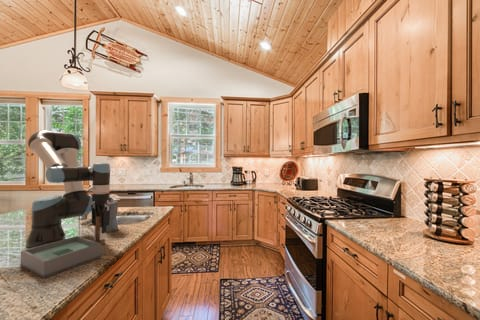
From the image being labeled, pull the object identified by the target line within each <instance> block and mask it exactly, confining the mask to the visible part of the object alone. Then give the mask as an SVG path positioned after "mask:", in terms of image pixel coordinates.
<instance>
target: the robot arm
mask: <svg viewBox="0 0 480 320" xmlns="http://www.w3.org/2000/svg"><path fill="white" fill-rule="evenodd" d="M27 145H28V148H29V149H30V151H32V152H33V153H35V154H36V155H37V157H38V158H39V159H40V161H41V162H42V164H43V165H44V166H45V167H46V171H45V178H46V181H47V182H48V183H50V184H51V183H52V184H53V183H55V184H61V183H63V186H64V190H65V191H64V192H65V193H64V194H63V195H61V194H60V195H50V196H44V197H41V198H40V197H39V198H37V199H35V200H33V202H32V204H31V209H30V210H31V229H30V232H29V233H28V237H27V239H26V241H25V247H27V248H34V247H37V246H41V245H45V244H49V243H53V242H57V241H60V240H64V239H66V233H65V231H64V229H63V226H62V221H63V220H65V219H71V218H76V217H78V218H79V217H83V216H87V215H89V214H91V224H92V225H93V226H94V228H93V229H94V233H93V234H94V235H93V238H94V239H95V236H96V216H100V221H101V226H99V227H100V239H99V240H103V239H105V240H106V239H107V238H106V237H107V232H106V226H108V225H109V221H110V209H111V206H107V201H109V198H110V187H111V185H110V183H111V180H110V179H111V166H110V164H109V163H108V162H107V163H105V162H103V163H101V162H100V163H99V162H97V163H96V162H95V163H93V164H92V166H79V161H78V157H77V155H78V154H79V151H80V150H81V148H82V141H81V138H80V137H79V135H78V134H75V133H70V132H63V131H61V132H60V131H54V130H53V131H52V130H41V131H37V132H35V133H33V134H32V135H31V136H30V137H29V138H28V140H27ZM89 181H90V182H92V187H91V189H92V194H90V193H88V190H86V189H84V185H83V182H89ZM102 211H103V212H102Z"/></svg>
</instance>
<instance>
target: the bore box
mask: <svg viewBox="0 0 480 320" xmlns="http://www.w3.org/2000/svg"><path fill="white" fill-rule="evenodd" d="M102 246H103V244H101V243H98V242H95V241H94V240H92V239H87V238H84V237H81V236H78V235H76V236H71V237H69V238H65V239H64V240H60V241H57V242H53V243H49V244H45V245H41V246H37V247H29V248H27V249H22V250H20V260H19V261H20V263H19V264H20V267H21V268H23V269H25V270H27V271H29V272H31V273H33V274H35V275H36V276H38V277H40V278H42V279H43V278H44V279H46V278H49V277H51V276H52V277H53V276H55V275H57V274H60V273H63V272H66V271H68V270H71V269H73V268H76V267H79V266H81V265H84V264H86V263H90V262H93V261H95V260H98V259H101V258H102V253H103V252H102V251H103V250H102Z"/></svg>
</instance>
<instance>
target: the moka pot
mask: <svg viewBox="0 0 480 320" xmlns="http://www.w3.org/2000/svg"><path fill="white" fill-rule="evenodd" d="M107 206H111V209H110V221H109V225H108V226H106V233H111V232H115V230H116V231H118V230H119V223H118V219H117V215H118V210H119V201H117V200H114V199H113V198H112V197H111V198H110V197H109V200H108V201H107ZM102 212H103V211H102Z"/></svg>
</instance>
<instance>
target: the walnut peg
mask: <svg viewBox="0 0 480 320" xmlns="http://www.w3.org/2000/svg"><path fill="white" fill-rule="evenodd" d="M99 226H101V221H100V216H96V236H95V242H98V243H101V244H102V245H105V242H106V241H105V240H106V239H103V240H99V239H100V227H99Z"/></svg>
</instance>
